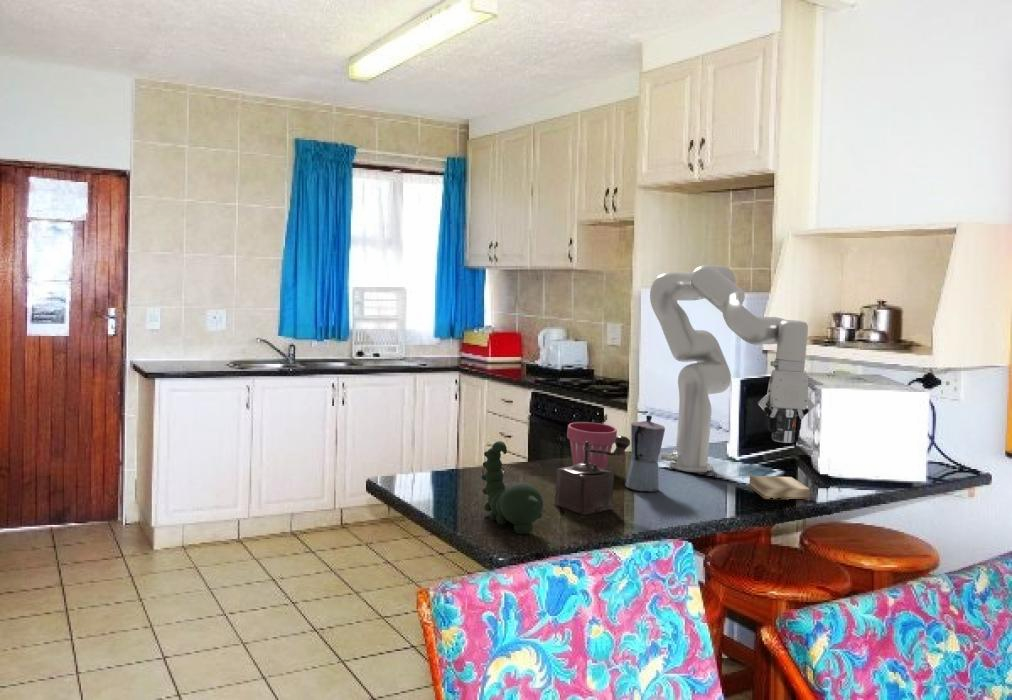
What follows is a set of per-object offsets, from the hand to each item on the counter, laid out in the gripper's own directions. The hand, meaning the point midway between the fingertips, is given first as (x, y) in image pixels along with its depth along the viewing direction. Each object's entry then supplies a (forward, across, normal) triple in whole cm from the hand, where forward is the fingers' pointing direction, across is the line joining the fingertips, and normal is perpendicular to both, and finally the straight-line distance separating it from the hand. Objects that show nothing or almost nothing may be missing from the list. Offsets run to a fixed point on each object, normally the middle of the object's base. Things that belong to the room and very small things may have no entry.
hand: (783, 431), depth 238 cm
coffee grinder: (+17, -55, -17) cm, 60 cm away
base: (+17, 0, 0) cm, 17 cm away
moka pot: (+17, -38, 0) cm, 42 cm away
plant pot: (+17, -49, +19) cm, 55 cm away
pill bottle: (+3, 0, 0) cm, 3 cm away
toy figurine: (+17, -77, -33) cm, 85 cm away
